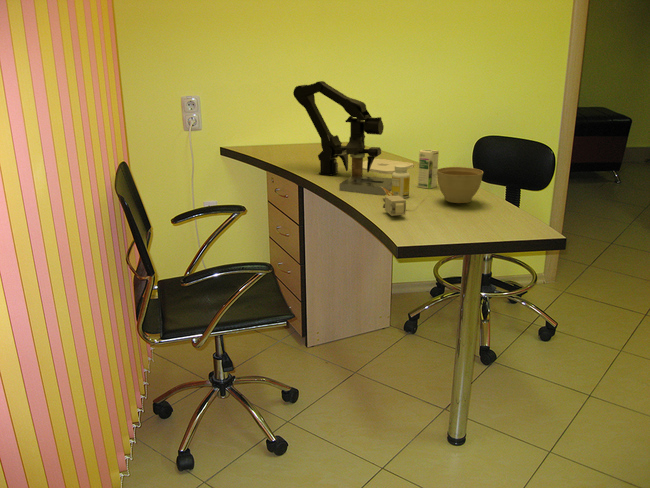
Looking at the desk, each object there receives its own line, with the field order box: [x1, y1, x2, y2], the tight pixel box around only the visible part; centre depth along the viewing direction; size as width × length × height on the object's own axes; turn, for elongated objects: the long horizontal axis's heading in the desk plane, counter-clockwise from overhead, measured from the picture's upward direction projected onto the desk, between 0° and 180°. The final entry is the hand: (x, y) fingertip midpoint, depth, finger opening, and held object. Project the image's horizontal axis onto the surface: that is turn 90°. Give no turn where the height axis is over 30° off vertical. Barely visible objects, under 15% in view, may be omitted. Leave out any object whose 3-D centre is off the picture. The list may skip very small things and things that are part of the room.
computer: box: [350, 158, 414, 175], centre depth 274 cm, size 22×22×3 cm
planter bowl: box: [437, 166, 484, 204], centre depth 220 cm, size 16×16×11 cm
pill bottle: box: [391, 165, 411, 199], centre depth 225 cm, size 6×6×12 cm
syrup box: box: [417, 149, 440, 190], centre depth 240 cm, size 6×6×14 cm
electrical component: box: [381, 187, 407, 217], centre depth 213 cm, size 24×6×5 cm, turn 14°
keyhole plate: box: [338, 175, 392, 196], centre depth 239 cm, size 18×16×3 cm
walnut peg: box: [349, 153, 366, 176], centre depth 252 cm, size 6×6×12 cm
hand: (357, 171), depth 253 cm, fingers open, 9 cm apart
